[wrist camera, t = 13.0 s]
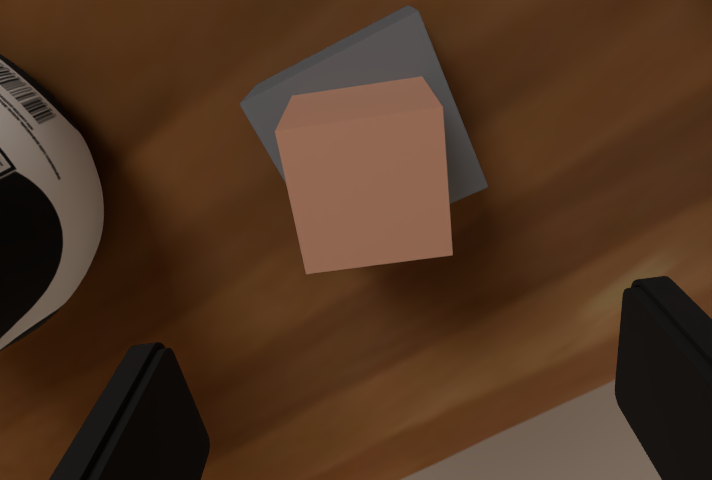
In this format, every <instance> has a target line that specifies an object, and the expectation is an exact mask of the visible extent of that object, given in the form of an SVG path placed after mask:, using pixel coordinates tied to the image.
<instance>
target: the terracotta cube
mask: <svg viewBox="0 0 712 480" xmlns="http://www.w3.org/2000/svg"><path fill="white" fill-rule="evenodd" d="M275 134H276V139H277V144H278V148H279V153H280V157H281V162H282V166H283V171H284V175H285V180H286V184H287V189H288V194H289V198H290V203H291V207H292V212H293V216H294V221H295V225H296V230H297V234H298V239H299V244H300V248H301V253H302V257H303V262H304V266H305V271H306V274H311V273H318V272H326V271H334V270H342V269H350V268H357V267H365V266H373V265H381V264H389V263H396V262H404V261H412V260H420V259H427V258H435V257H443V256H451V255H453V251H452V236H451V221H450V206H449V191H448V176H447V161H446V146H445V131H444V116H443V106H442V105H441V103H440V102H439V100H438V99H437V97H436V96H435V95H434V93H433V92H432V90H431V89H430V87H429V86H428V84H427V83H426V81H425V80H424V78H423V77H422V76H421V77H414V78H407V79H401V80H394V81H387V82H381V83H374V84H367V85H360V86H354V87H347V88H340V89H334V90H327V91H320V92H314V93H307V94H300V95H293V96H292V97H291V99H290V101H289V103H288V105H287V107H286V109H285V111H284V113H283V116H282V118H281V120H280V122H279V124H278V126H277V128H276V130H275Z"/></svg>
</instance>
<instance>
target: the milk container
mask: <svg viewBox="0 0 712 480" xmlns="http://www.w3.org/2000/svg"><path fill="white" fill-rule="evenodd" d="M103 221H104V203H103V193H102V187H101V183H100V179H99V175H98V172H97V169H96V167H95V164H94V161H93V158H92V155H91V152H90V150H89V148H88V145H87V143H86V141H85V139H84V138H83V136H82V135H81V133H80V131H79V130H78V128H77V127H76V126H75V124H74V123H73V121H72V120H71V119H70V117H69V116H68V115H67V113H66V112H65V111H64V109H63V108H62V106H61V105H60V104H59V103H58V102H57V100H56V99H55V98H54V97H53V96H52V95H51V94H50V93H49V92H48V91H47V90H46V89H45V88H44V87H43V86H42V85H40V84H39V83H38V82H37V81H35V80H34V79H33V78H32V77H30V76H29V75H28V74H27V73H26V72H24V71H23V70H22V69H20V68H19V67H18V66H17V65H15V64H14V63H12V62H11V61H10V60H8V59H7V58H5V57H4V56H2V55H1V54H0V351H1V350H2V349H4V348H6V347H8V346H9V345H11V344H13V343H15V342H16V341H18V340H20V339H21V338H23V337H24V336H26V335H28V334H29V333H31V332H32V331H34V330H35V329H37V328H38V327H40V326H41V325H42V324H43V323H45V322H46V321H47V320H48V319H50V318H51V317H52V316H53V315H54V314H55V313H56V312H57V311H58V310H59V309H60V308H61V307H62V306H63V305H64V304H65V303H66V302H67V300H68V299H69V298H70V297H71V295H72V294H73V293H74V292H75V290H76V289H77V287H78V286H79V284H80V283H81V281H82V279H83V278H84V276H85V274H86V273H87V271H88V269H89V267H90V265H91V262H92V260H93V258H94V256H95V253H96V251H97V248H98V245H99V242H100V239H101V235H102V230H103Z"/></svg>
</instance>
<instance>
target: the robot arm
mask: <svg viewBox="0 0 712 480" xmlns="http://www.w3.org/2000/svg"><path fill="white" fill-rule="evenodd" d="M615 396H616V399H617V403H618V406H619V407H620V409H621V411H622V413H623V414H624V416H625V418H626V420H627V421H628V423H629V425H630V426H631V428H632V429H633V431H634V433H635V435H636V436H637V438H638V439H639V441H640V443H641V445H642V446H643V448H644V450H645V451H646V453H647V455H648V457H649V458H650V460H651V462H652V463H653V465H654V467H655V468H656V470H657V472H658V473H659V475H660V477H661V479H662V480H712V319H711V318H710V317H709V316H708V315H707V314H706V313H705V312H704V311H703V310H702V309H701V308H700V307H699V306H698V305H697V304H696V303H695V302H694V301H693V300H692V299H691V298H690V297H689V296H688V295H687V294H686V293H685V292H684V291H683V290H682V289H681V288H680V287H678V286H677V285H676V284H675V283H674V282H673V281H672V280H671V279H670V278H669V277H666V276H661V277H653V278H646V279H638V280H635V281H633V283H632V286H631V288H627V289H625V290H624V292H623V299H622V311H621V322H620V334H619V346H618V357H617V369H616V381H615ZM209 448H210V442H209V437H208V434H207V431H206V429H205V426H204V424H203V422H202V419H201V417H200V414H199V412H198V410H197V407H196V405H195V402H194V400H193V398H192V395H191V393H190V390H189V388H188V386H187V383H186V381H185V378H184V376H183V374H182V371H181V369H180V366H179V364H178V362H177V359H176V357H175V354H174V352H173V351H172V349H170V348H165V346H164V345H163V344H162V343H159V342H157V343H149V344H142V345H134V346H132V347H131V348H130V349H129V350H128V352H127V353H126V355H125V357H124V358H123V360H122V361H121V363H120V365H119V366H118V368H117V370H116V371H115V373H114V375H113V376H112V378H111V379H110V381H109V383H108V384H107V386H106V388H105V389H104V391H103V393H102V394H101V396H100V397H99V399H98V401H97V402H96V404H95V406H94V407H93V409H92V410H91V412H90V414H89V415H88V417H87V419H86V420H85V422H84V424H83V425H82V427H81V428H80V430H79V432H78V433H77V435H76V437H75V438H74V440H73V441H72V443H71V445H70V446H69V448H68V450H67V451H66V453H65V455H64V456H63V458H62V459H61V461H60V463H59V464H58V466H57V468H56V469H55V471H54V472H53V474H52V476H51V477H50V479H49V480H201V476H202V473H203V470H204V467H205V464H206V461H207V457H208V454H209Z"/></svg>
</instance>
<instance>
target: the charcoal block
mask: <svg viewBox="0 0 712 480" xmlns="http://www.w3.org/2000/svg"><path fill="white" fill-rule="evenodd" d="M421 76H422V77H423V78H424V80H425V81H426V83H427V84H428V86H429V87H430V89H431V90H432V92H433V93H434V95H435V96H436V97H437V99H438V100H439V102H440V103H441V105H442V106H443V116H444V131H445V146H446V161H447V176H448V191H449V204H451V203H453V202H455V201H458V200H460V199H462V198H465V197H467V196H469V195H471V194H474V193H476V192H478V191H481V190H483V189H485V188H488V185H487V182H486V180H485V177H484V175H483V172H482V170H481V167H480V165H479V162H478V160H477V157H476V154H475V152H474V149H473V147H472V144H471V142H470V139H469V137H468V134H467V132H466V129H465V127H464V124H463V122H462V119H461V117H460V114H459V112H458V109H457V107H456V104H455V102H454V99H453V97H452V94H451V91H450V89H449V86H448V84H447V81H446V79H445V76H444V74H443V71H442V69H441V66H440V64H439V61H438V59H437V56H436V54H435V51H434V49H433V46H432V44H431V41H430V39H429V36H428V34H427V31H426V29H425V26H424V23H423V21H422V18H421V16H420V13H419V11H418V10H416V9H414V8H413V7H411V6H409V5H407V6H405V7H403V8H402V9H400V10H398V11H396V12H394V13H392V14H390V15H388V16H386V17H384V18H382V19H381V20H379V21H377V22H375V23H373V24H371V25H369V26H367V27H365V28H363V29H362V30H360V31H358V32H356V33H354V34H352V35H350V36H348V37H346V38H344V39H342V40H341V41H339V42H337V43H335V44H333V45H331V46H329V47H327V48H325V49H323V50H322V51H320V52H318V53H316V54H314V55H312V56H310V57H308V58H306V59H304V60H302V61H301V62H299V63H297V64H295V65H293V66H291V67H289V68H287V69H285V70H283V71H282V72H280V73H278V74H276V75H274V76H272V77H270V78H268V79H266V80H264V81H262V82H261V83H259V84H257V85H256V86H255V87H254V88H253V89H252V90H251V91H250V93H249V94H248V95H247V96H246V97H245V98H244V99H243V100H242V102H241V103H240V106H241V108H242V109H243V111H244V113H245V114H246V116H247V118H248V120H249V121H250V123H251V125H252V126H253V128H254V130H255V131H256V133H257V135H258V137H259V138H260V140H261V142H262V143H263V145H264V147H265V148H266V150H267V152H268V154H269V155H270V157H271V159H272V160H273V162H274V164H275V166H276V167H277V169H278V171H279V172H280V174H281V176H282V177H283V179H284V181H285V183H286V180H285V175H284V171H283V166H282V162H281V157H280V153H279V148H278V144H277V139H276V134H275V130H276V128H277V126H278V124H279V122H280V120H281V118H282V116H283V113H284V111H285V109H286V107H287V105H288V103H289V101H290V99H291V97H292V96H293V95H300V94H307V93H314V92H320V91H327V90H334V89H340V88H347V87H354V86H360V85H367V84H374V83H381V82H387V81H394V80H401V79H407V78H414V77H421Z"/></svg>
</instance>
